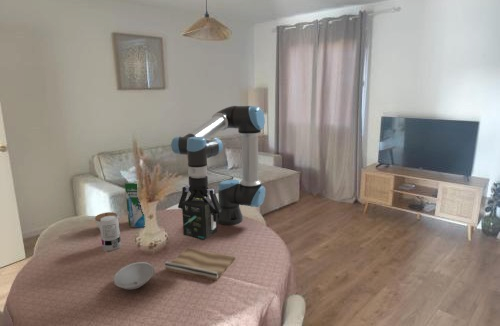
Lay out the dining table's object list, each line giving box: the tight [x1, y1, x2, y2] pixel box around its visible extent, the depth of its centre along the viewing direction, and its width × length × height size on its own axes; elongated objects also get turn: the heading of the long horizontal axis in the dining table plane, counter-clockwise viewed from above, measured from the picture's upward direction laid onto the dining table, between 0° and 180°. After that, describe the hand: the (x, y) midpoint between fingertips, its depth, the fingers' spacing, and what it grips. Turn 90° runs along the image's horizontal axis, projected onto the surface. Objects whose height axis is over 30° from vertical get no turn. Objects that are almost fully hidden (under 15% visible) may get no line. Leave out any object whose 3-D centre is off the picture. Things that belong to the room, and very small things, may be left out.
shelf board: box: [164, 247, 236, 282], centre depth 143 cm, size 18×24×3 cm
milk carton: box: [124, 180, 145, 228], centre depth 184 cm, size 9×9×25 cm
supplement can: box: [99, 215, 122, 252], centre depth 157 cm, size 8×8×15 cm
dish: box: [113, 261, 155, 290], centre depth 128 cm, size 18×14×5 cm
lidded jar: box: [94, 211, 118, 230], centre depth 179 cm, size 11×11×9 cm
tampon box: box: [181, 198, 218, 241], centre depth 137 cm, size 11×9×15 cm
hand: (200, 226), depth 138 cm, fingers closed on tampon box, 12 cm apart
